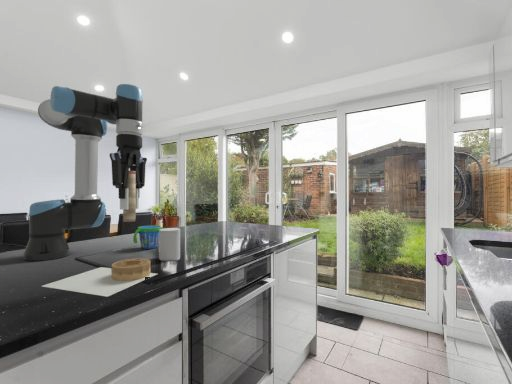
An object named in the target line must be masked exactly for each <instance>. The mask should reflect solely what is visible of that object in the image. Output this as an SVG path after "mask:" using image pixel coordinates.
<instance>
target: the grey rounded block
mask: <svg viewBox="0 0 512 384" xmlns="http://www.w3.org/2000/svg"><path fill="white" fill-rule="evenodd" d="M180 259H181V228H179V227H167V228H166V227H164V228H163V229H159V243H158V260H160V261H165V262H166V261H169V262H170V261H179V260H180Z"/></svg>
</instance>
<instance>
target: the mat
mask: <svg viewBox="0 0 512 384" xmlns="http://www.w3.org/2000/svg"><path fill="white" fill-rule="evenodd" d="M157 275H158V273H156V272H155V273H154V272H151V273H150V275H149V276H147V277H150V278H153V277H154V276H157ZM143 281H145V278H142V279H138V280H133V281H116V280H113V279H112V278H111V267H104V266H103V267H101V266H100V267H96V268H94V269H90V270H86V271H84V272H82V273H78V274H75V275H71V276H68V277H65V278H63V279H59V280H56V281H53V282H50V283H46V284H44V285H41V287H43V288H50V289H57V290H63V291H68V292H75V293H80V294H81V293H82V294H87V295H94V296H100V297H106V298H109V297H110V296H112V295H115V294H117V293H118V292H121V291H123V290H126V289H128V288H130V287H132V286H134V285H136V284H138V283H141V282H143Z"/></svg>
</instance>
